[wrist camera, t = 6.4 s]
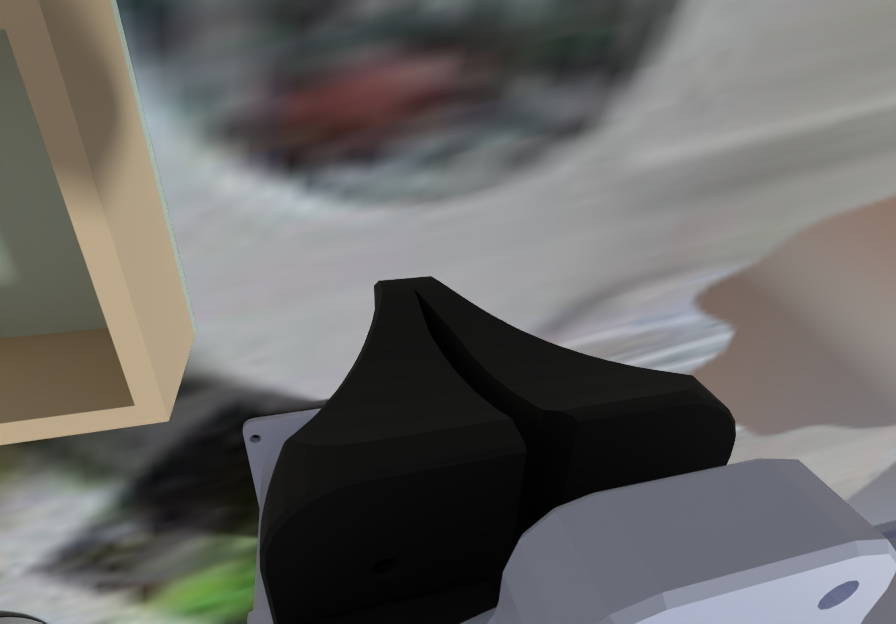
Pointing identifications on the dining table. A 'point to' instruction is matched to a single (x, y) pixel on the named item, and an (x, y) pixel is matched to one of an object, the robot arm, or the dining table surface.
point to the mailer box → (82, 232)
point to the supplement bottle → (17, 620)
